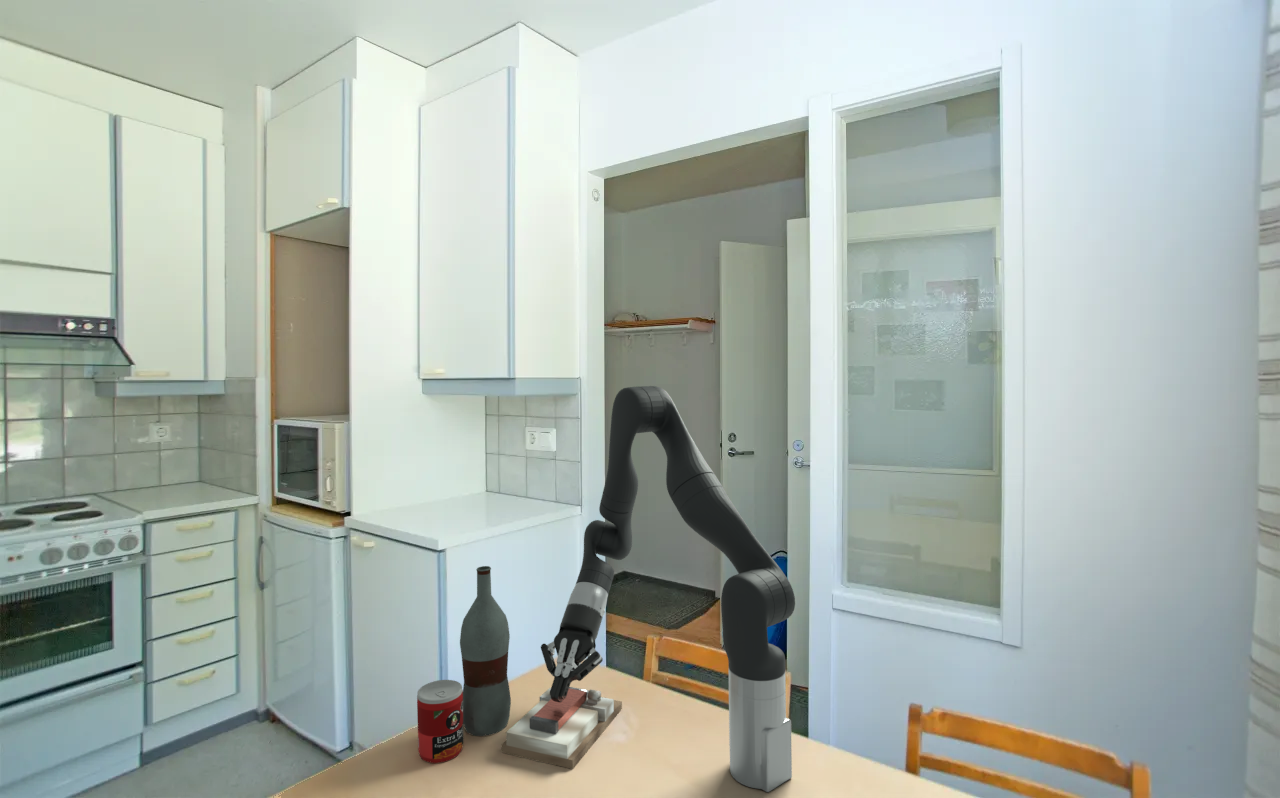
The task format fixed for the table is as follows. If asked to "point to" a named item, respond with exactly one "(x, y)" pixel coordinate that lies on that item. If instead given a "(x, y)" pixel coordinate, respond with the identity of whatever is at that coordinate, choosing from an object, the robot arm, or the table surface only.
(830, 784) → the table surface
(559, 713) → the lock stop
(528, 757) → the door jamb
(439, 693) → the canned food
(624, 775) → the table surface
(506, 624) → the bottle
